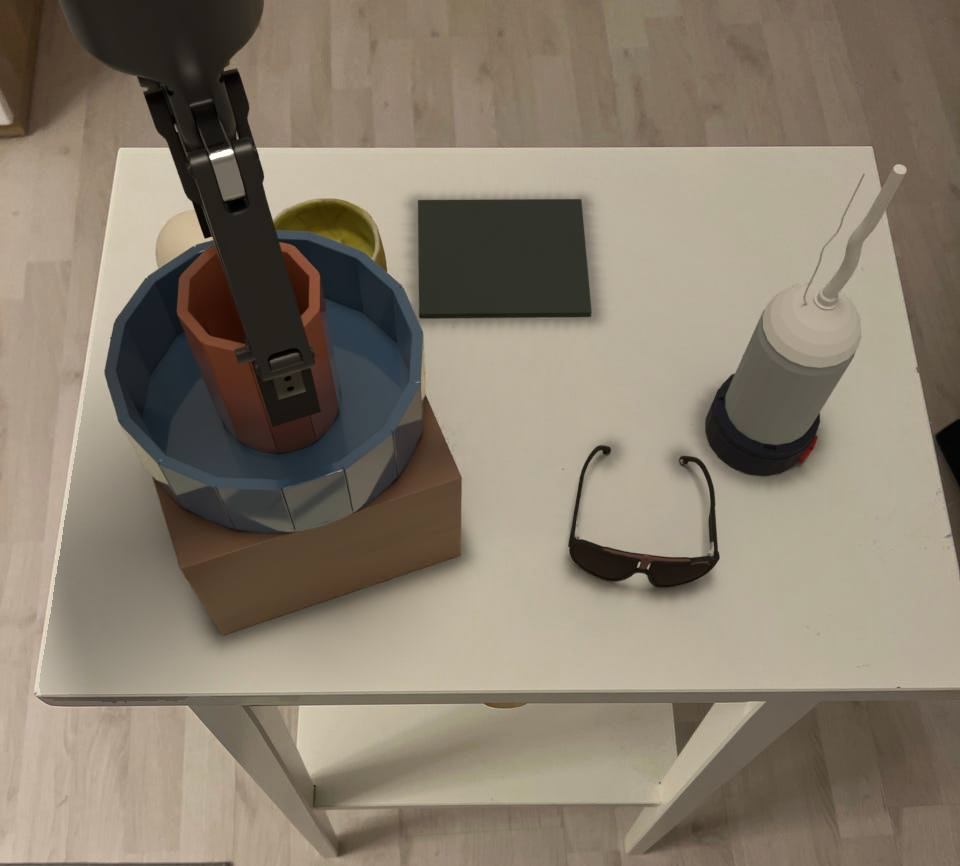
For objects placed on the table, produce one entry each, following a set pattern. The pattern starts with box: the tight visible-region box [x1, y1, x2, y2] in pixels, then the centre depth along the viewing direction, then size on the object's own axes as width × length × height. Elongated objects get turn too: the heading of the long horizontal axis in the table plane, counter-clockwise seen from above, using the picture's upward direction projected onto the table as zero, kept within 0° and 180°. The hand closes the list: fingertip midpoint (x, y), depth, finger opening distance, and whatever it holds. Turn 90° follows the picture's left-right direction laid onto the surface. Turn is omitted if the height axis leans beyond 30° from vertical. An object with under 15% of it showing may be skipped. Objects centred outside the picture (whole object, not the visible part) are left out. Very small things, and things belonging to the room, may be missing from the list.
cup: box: [177, 242, 340, 453], centre depth 56 cm, size 8×8×10 cm
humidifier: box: [704, 163, 908, 477], centre depth 63 cm, size 8×8×25 cm
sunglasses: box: [567, 444, 721, 589], centre depth 69 cm, size 11×12×5 cm
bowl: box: [103, 230, 427, 533], centre depth 59 cm, size 18×18×5 cm
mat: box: [417, 198, 593, 319], centre depth 79 cm, size 14×12×1 cm
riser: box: [109, 336, 463, 636], centre depth 66 cm, size 18×18×11 cm
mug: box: [272, 197, 388, 273], centre depth 74 cm, size 12×10×10 cm
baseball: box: [155, 209, 213, 270], centre depth 75 cm, size 7×7×7 cm
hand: (258, 317), depth 53 cm, fingers open, 13 cm apart
